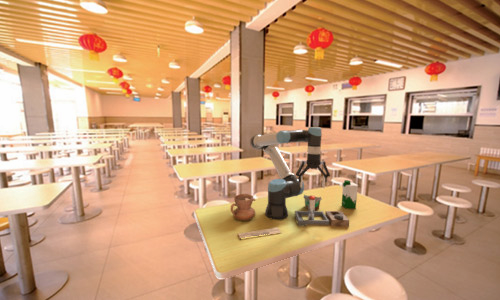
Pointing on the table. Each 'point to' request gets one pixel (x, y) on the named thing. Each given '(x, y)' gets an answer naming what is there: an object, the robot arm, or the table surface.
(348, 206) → the milk carton
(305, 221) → the tray
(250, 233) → the newspaper
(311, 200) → the pin
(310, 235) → the table surface
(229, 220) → the table surface
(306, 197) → the half moon wedge
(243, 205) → the ceramic jug
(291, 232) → the table surface
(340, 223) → the block
